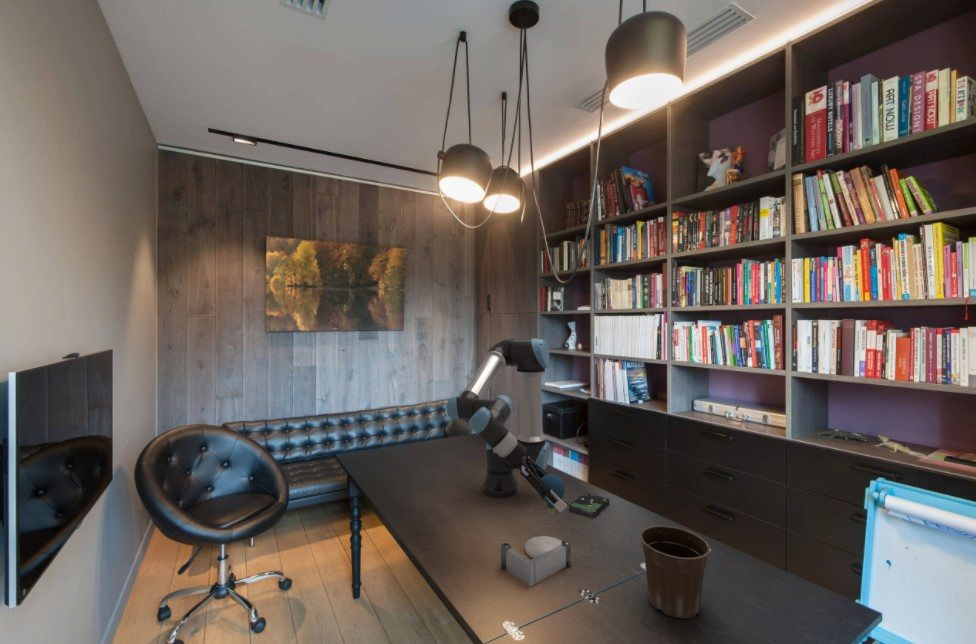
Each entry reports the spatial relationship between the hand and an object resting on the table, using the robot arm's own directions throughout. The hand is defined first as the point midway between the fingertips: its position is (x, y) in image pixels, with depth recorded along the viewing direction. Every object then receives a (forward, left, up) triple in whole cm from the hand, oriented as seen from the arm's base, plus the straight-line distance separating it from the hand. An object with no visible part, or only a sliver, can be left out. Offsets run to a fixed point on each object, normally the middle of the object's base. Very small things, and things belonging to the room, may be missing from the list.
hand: (562, 502), depth 131 cm
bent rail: (+11, -1, -16) cm, 20 cm away
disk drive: (-33, -15, -17) cm, 40 cm away
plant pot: (-5, +33, -16) cm, 37 cm away
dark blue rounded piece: (+2, -2, -4) cm, 5 cm away
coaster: (+2, -5, -16) cm, 17 cm away
